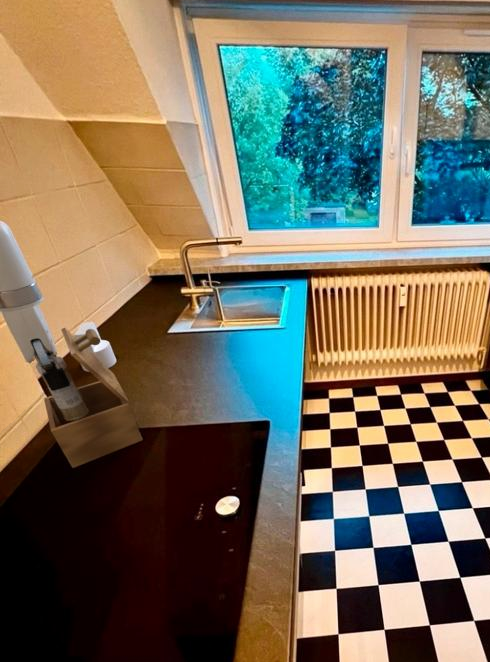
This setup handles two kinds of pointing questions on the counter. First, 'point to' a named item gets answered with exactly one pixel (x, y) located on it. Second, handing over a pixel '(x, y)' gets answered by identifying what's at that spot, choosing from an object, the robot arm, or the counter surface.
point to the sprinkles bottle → (67, 396)
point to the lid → (93, 360)
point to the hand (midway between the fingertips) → (59, 381)
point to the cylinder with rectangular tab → (97, 346)
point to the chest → (93, 425)
